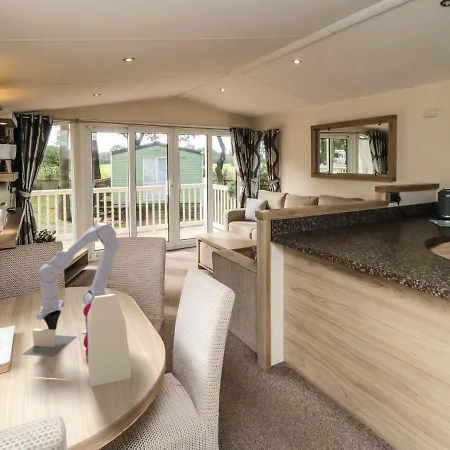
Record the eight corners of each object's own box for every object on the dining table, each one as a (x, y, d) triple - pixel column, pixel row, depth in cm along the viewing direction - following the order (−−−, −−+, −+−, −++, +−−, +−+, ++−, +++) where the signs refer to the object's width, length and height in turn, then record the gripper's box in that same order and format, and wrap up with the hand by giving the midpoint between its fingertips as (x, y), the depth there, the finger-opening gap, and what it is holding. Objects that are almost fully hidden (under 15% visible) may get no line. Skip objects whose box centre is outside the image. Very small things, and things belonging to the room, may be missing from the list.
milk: (91, 386, 116) (85, 304, 113) (88, 368, 127) (83, 292, 123) (131, 377, 121) (127, 298, 117) (125, 361, 132) (121, 287, 128)
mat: (77, 337, 150) (77, 336, 150) (53, 357, 134) (53, 356, 134) (48, 335, 152) (48, 334, 152) (22, 355, 136) (21, 354, 136)
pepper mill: (83, 350, 139) (80, 297, 136) (104, 346, 142) (101, 294, 139) (85, 359, 133) (81, 304, 130) (106, 355, 136) (103, 301, 132)
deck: (56, 344, 143) (55, 329, 142) (53, 346, 142) (52, 331, 141) (36, 343, 144) (35, 328, 143) (33, 345, 143) (32, 330, 142)
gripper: (51, 289, 153) (54, 322, 155) (27, 302, 139) (30, 337, 141) (67, 290, 152) (70, 323, 154) (45, 303, 138) (48, 338, 140)
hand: (52, 330), depth 147 cm, fingers closed
